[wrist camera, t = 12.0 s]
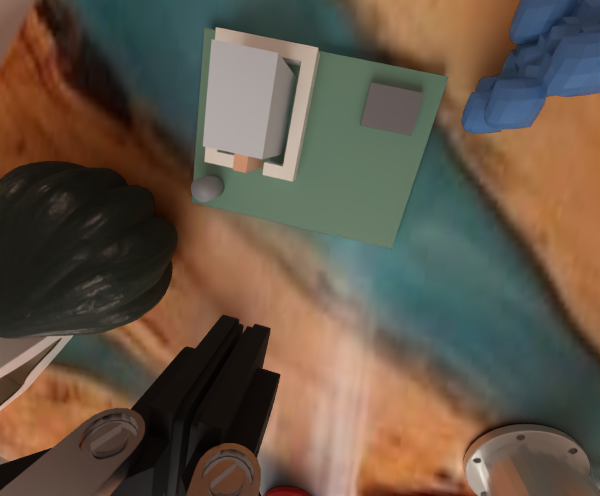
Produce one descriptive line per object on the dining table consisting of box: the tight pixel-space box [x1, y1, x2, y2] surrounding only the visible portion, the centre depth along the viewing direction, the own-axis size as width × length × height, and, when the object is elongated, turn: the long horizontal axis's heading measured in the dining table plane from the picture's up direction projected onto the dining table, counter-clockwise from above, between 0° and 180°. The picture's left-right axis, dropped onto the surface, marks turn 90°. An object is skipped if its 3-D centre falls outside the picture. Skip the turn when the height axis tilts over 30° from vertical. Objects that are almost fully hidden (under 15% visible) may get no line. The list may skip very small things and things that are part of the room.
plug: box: [203, 39, 296, 173], centre depth 22 cm, size 4×7×7 cm, turn 168°
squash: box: [0, 161, 177, 339], centre depth 26 cm, size 14×15×15 cm
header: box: [204, 27, 320, 182], centre depth 24 cm, size 8×10×2 cm
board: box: [191, 28, 448, 249], centre depth 25 cm, size 19×14×4 cm
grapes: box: [461, 0, 600, 133], centre depth 17 cm, size 12×7×12 cm, turn 134°
